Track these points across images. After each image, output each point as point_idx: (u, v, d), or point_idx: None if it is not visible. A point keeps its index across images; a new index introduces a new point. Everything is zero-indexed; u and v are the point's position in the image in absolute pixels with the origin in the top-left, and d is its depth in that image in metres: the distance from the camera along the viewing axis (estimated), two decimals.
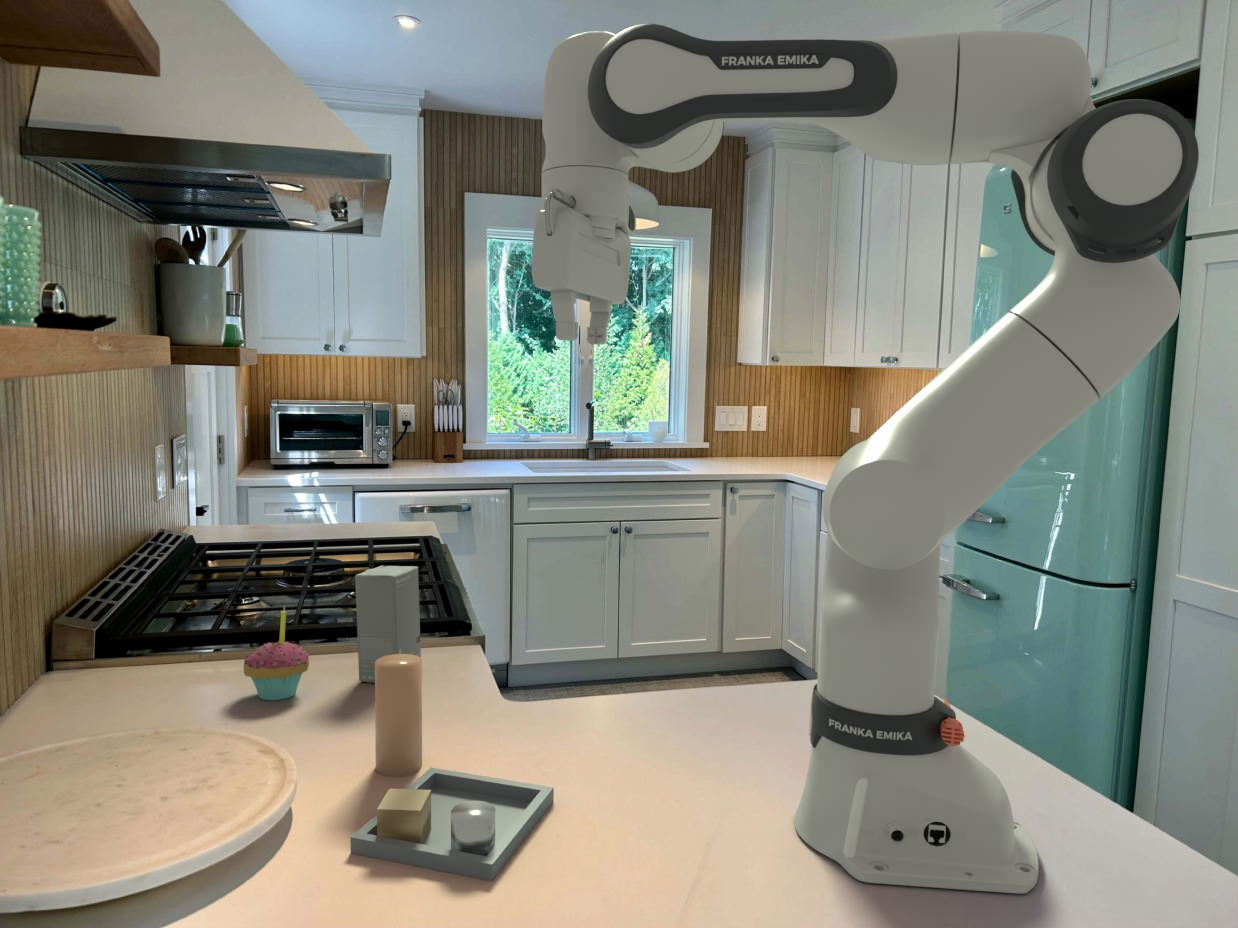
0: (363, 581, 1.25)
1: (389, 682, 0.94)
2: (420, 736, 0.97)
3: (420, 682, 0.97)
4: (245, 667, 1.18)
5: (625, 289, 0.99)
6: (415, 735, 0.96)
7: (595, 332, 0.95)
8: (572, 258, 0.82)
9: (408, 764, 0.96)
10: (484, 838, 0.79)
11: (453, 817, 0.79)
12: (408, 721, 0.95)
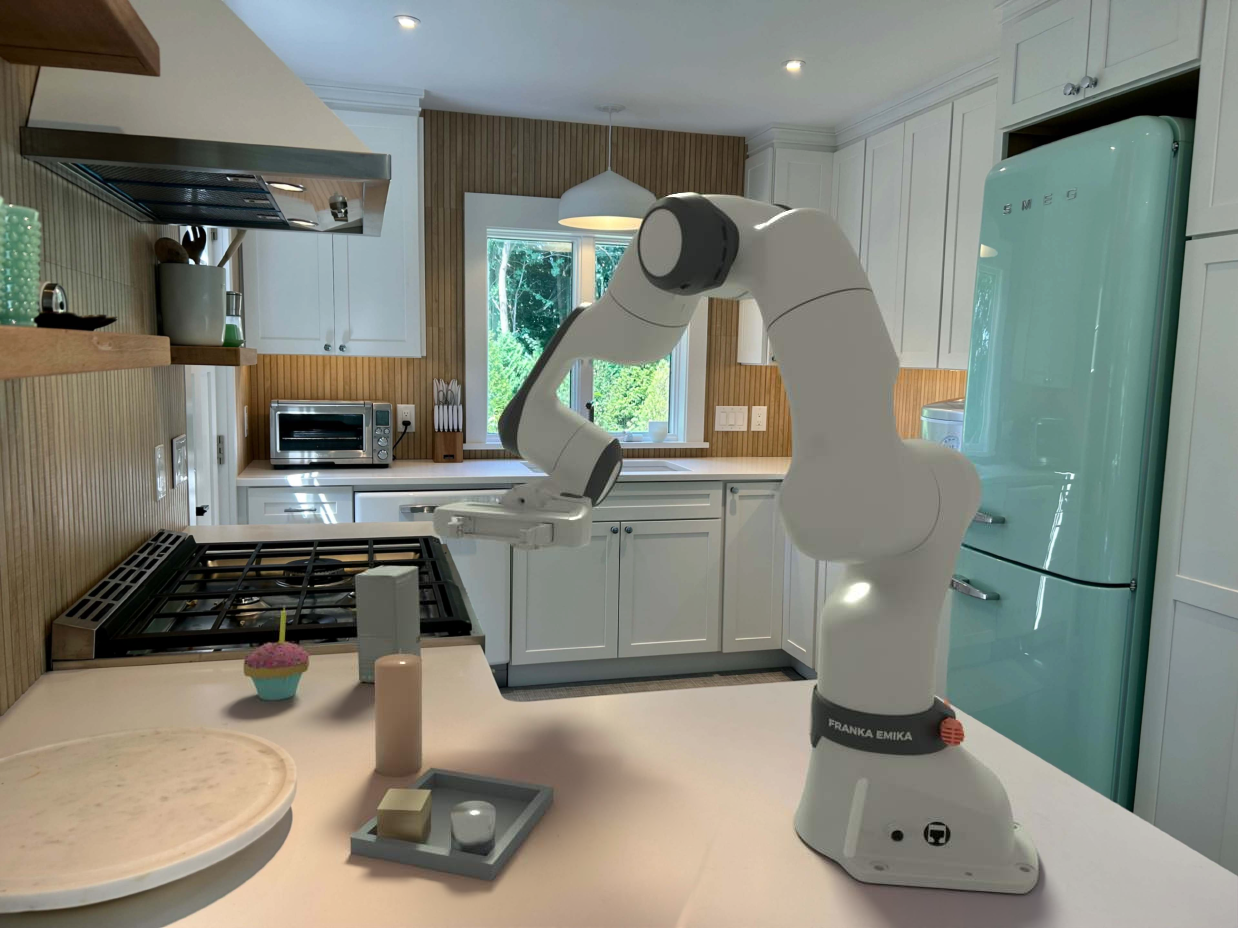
0: (363, 581, 1.25)
1: (389, 682, 0.94)
2: (420, 736, 0.97)
3: (420, 682, 0.97)
4: (245, 667, 1.18)
5: (575, 516, 1.09)
6: (415, 735, 0.96)
7: None
8: (451, 505, 1.15)
9: (408, 764, 0.96)
10: (484, 838, 0.79)
11: (453, 817, 0.79)
12: (408, 721, 0.95)
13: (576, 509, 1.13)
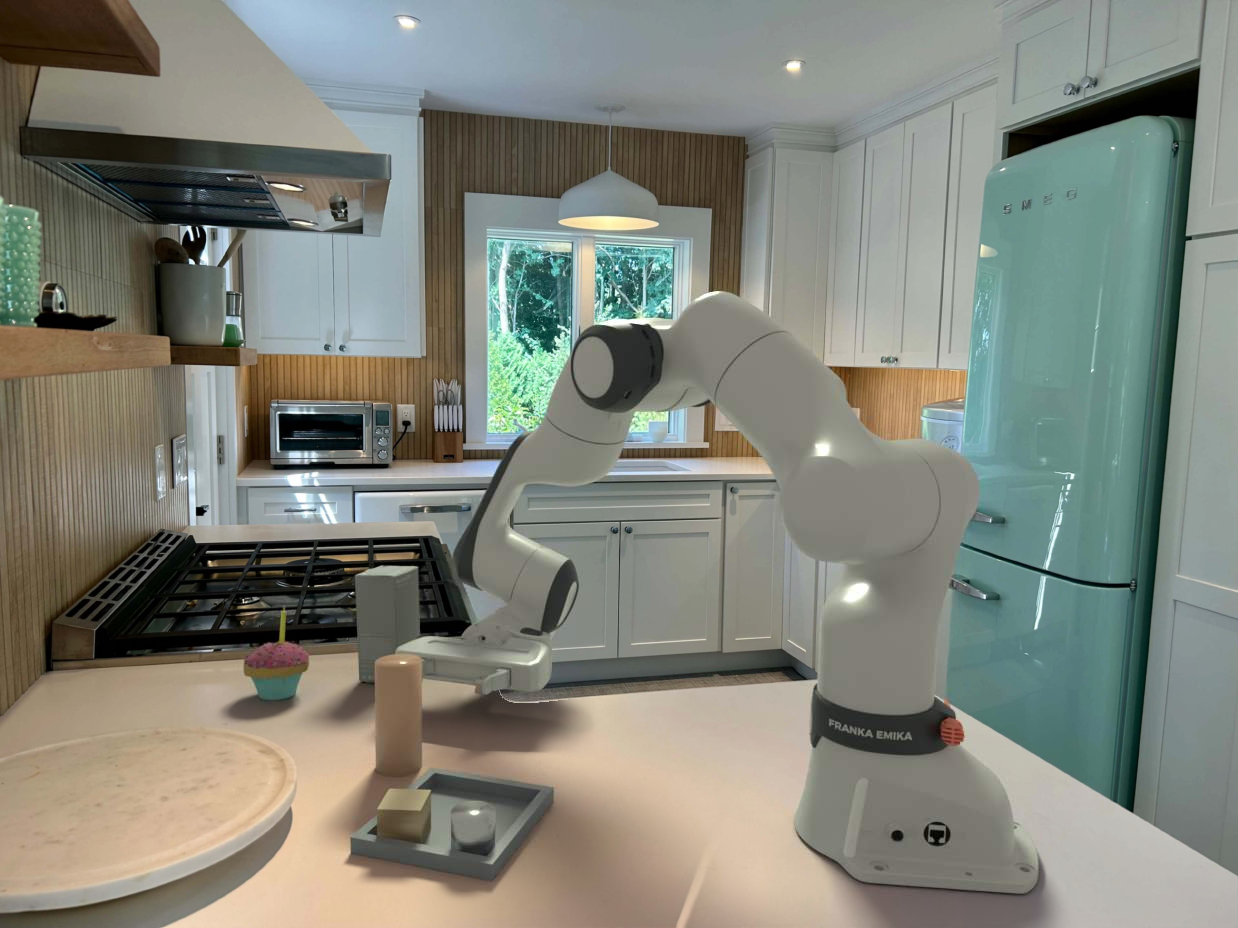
0: (363, 581, 1.25)
1: (389, 682, 0.94)
2: (420, 736, 0.97)
3: (420, 682, 0.97)
4: (245, 667, 1.18)
5: (533, 660, 1.11)
6: (415, 735, 0.96)
7: None
8: (413, 644, 1.17)
9: (408, 764, 0.96)
10: (484, 838, 0.79)
11: (453, 817, 0.79)
12: (408, 721, 0.95)
13: (535, 649, 1.15)
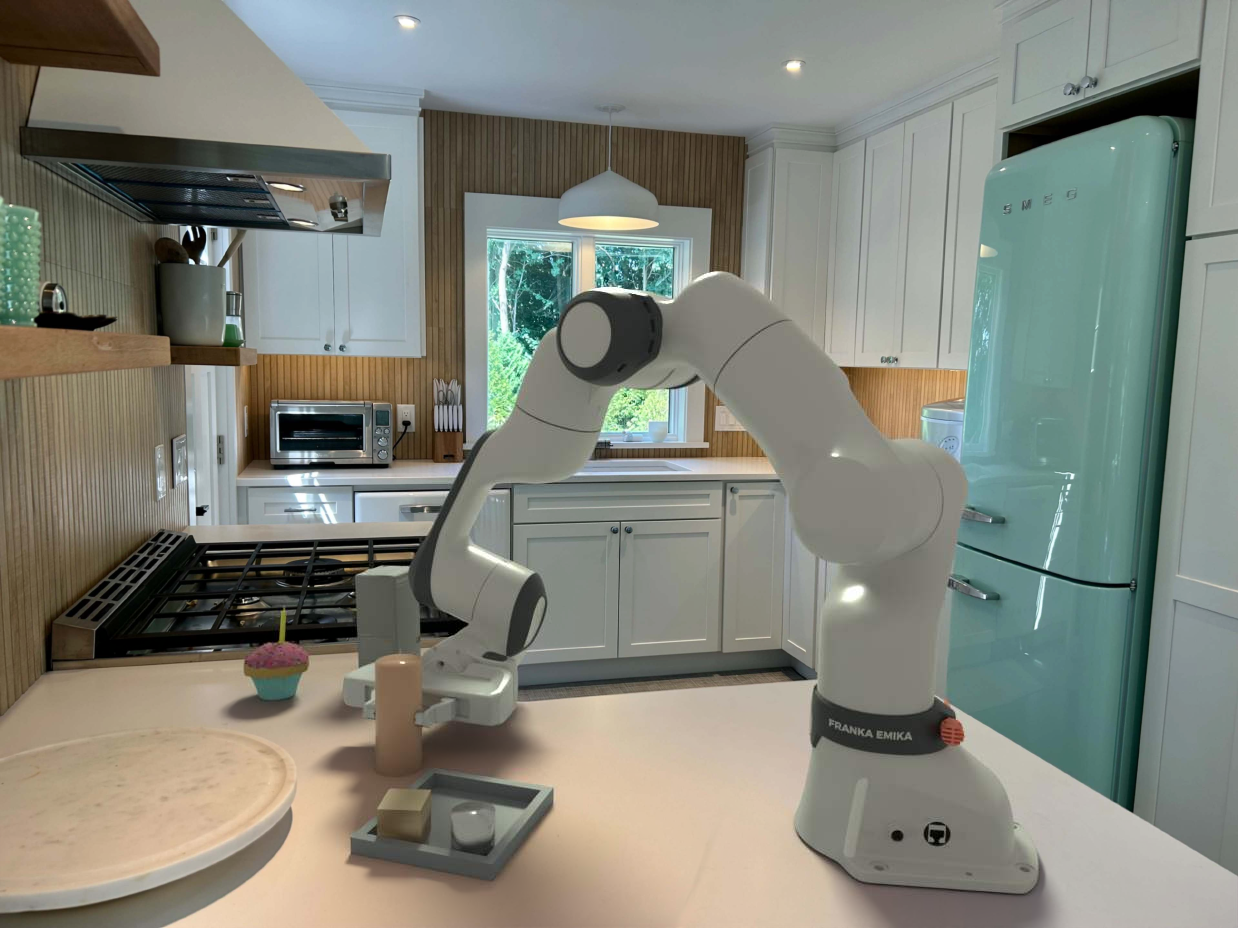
0: (363, 581, 1.25)
1: (389, 682, 0.94)
2: (420, 736, 0.97)
3: (420, 682, 0.97)
4: (245, 667, 1.18)
5: (494, 690, 1.00)
6: (415, 735, 0.96)
7: None
8: (363, 670, 1.06)
9: (408, 764, 0.96)
10: (484, 838, 0.79)
11: (453, 817, 0.79)
12: (408, 721, 0.95)
13: (498, 676, 1.04)
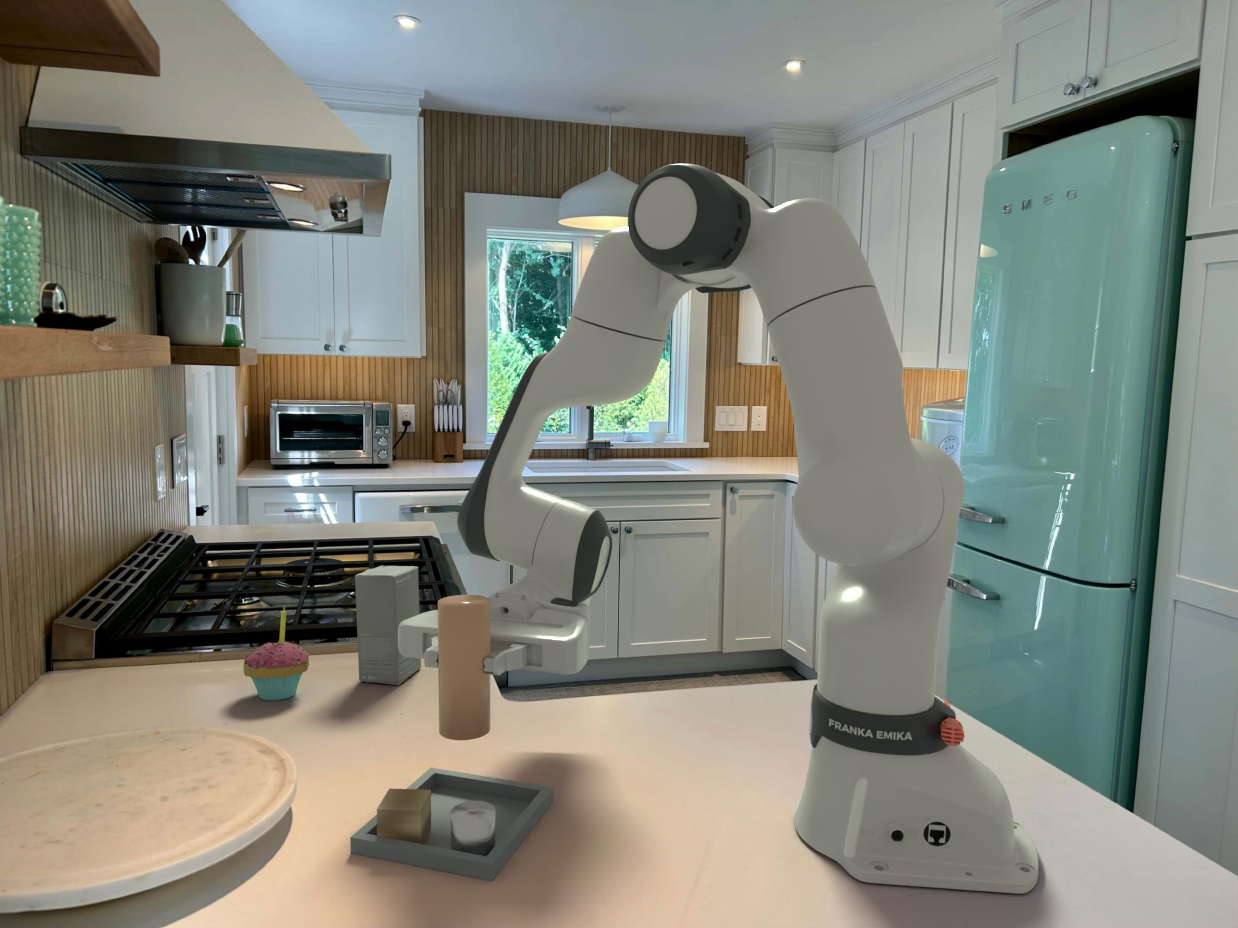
0: (363, 581, 1.25)
1: (455, 623, 0.84)
2: (489, 685, 0.86)
3: (488, 624, 0.86)
4: (245, 667, 1.18)
5: (569, 635, 0.89)
6: (484, 683, 0.86)
7: None
8: (419, 618, 0.95)
9: (476, 717, 0.85)
10: (484, 838, 0.79)
11: (453, 817, 0.79)
12: (476, 668, 0.85)
13: (570, 622, 0.93)
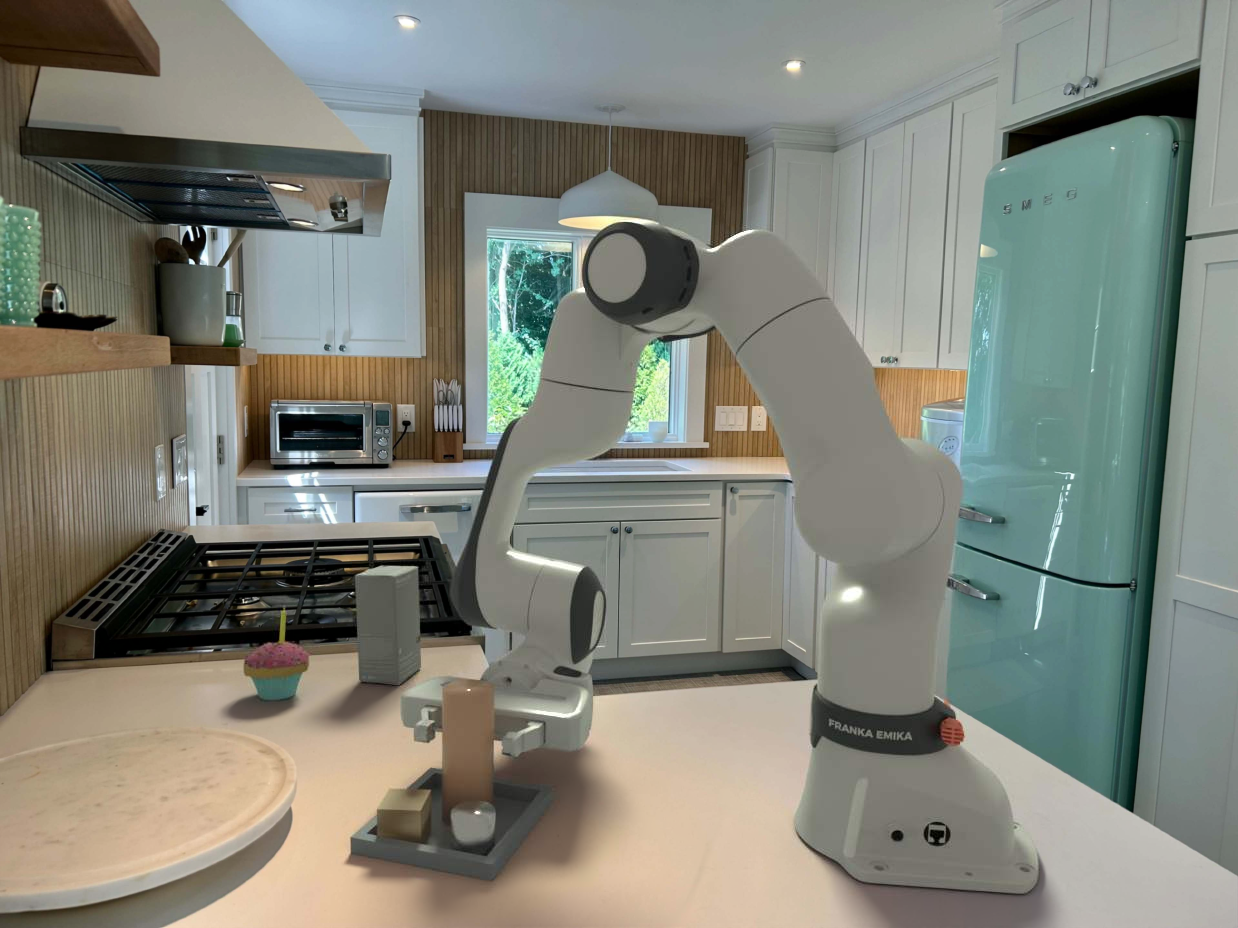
0: (363, 581, 1.25)
1: (459, 713, 0.84)
2: (492, 772, 0.87)
3: (493, 712, 0.86)
4: (245, 667, 1.18)
5: (572, 711, 0.89)
6: (488, 771, 0.86)
7: None
8: (422, 687, 0.95)
9: None
10: (484, 838, 0.79)
11: (453, 817, 0.79)
12: (480, 756, 0.85)
13: (573, 695, 0.93)
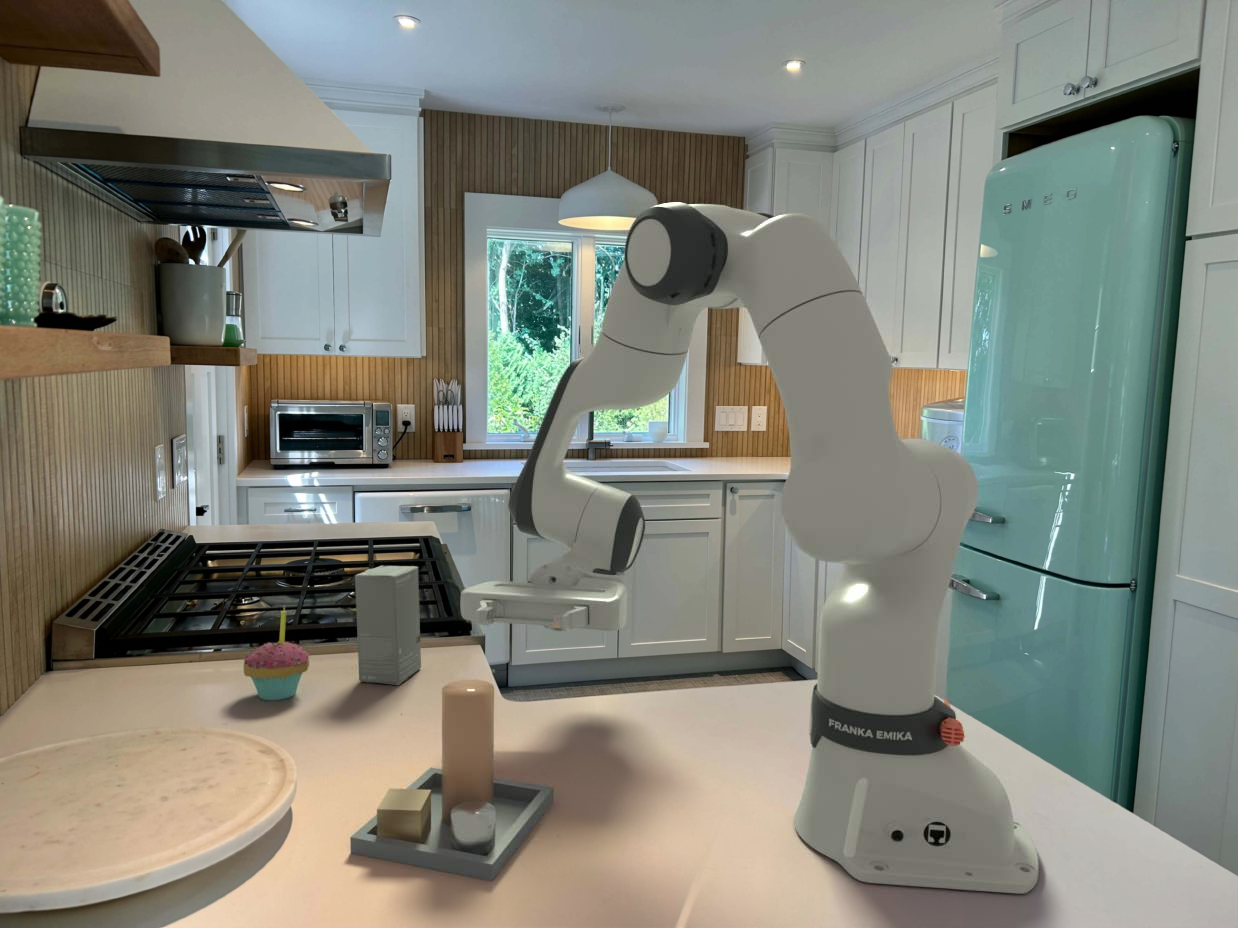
0: (363, 581, 1.25)
1: (459, 713, 0.84)
2: (492, 772, 0.87)
3: (492, 712, 0.86)
4: (245, 667, 1.18)
5: (612, 596, 1.02)
6: (488, 771, 0.86)
7: None
8: (478, 587, 1.09)
9: None
10: (484, 838, 0.79)
11: (453, 817, 0.79)
12: (480, 757, 0.85)
13: (611, 587, 1.06)
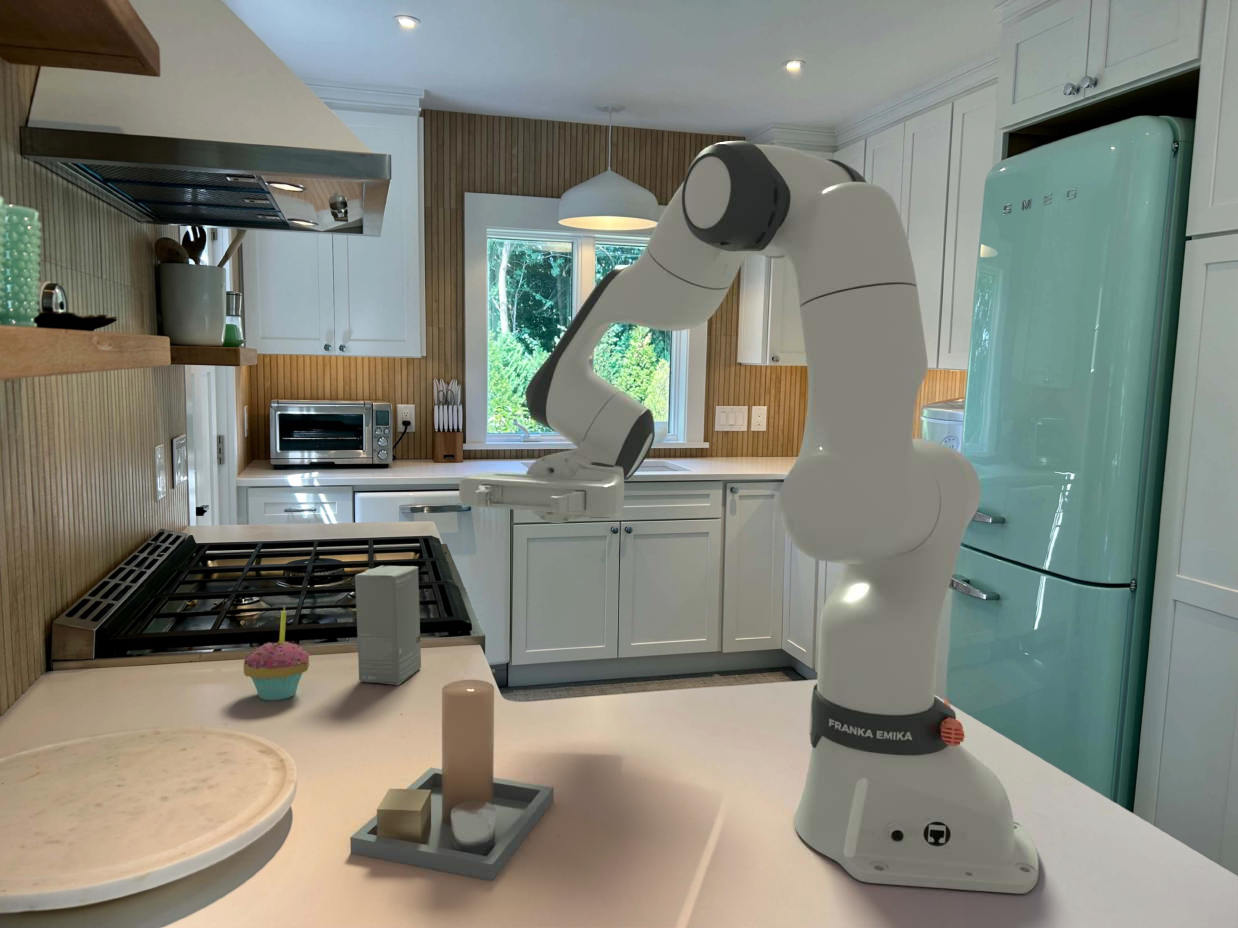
0: (363, 581, 1.25)
1: (459, 713, 0.84)
2: (492, 772, 0.87)
3: (492, 712, 0.86)
4: (245, 667, 1.18)
5: (609, 483, 1.04)
6: (488, 771, 0.86)
7: None
8: (477, 475, 1.10)
9: None
10: (484, 838, 0.79)
11: (453, 817, 0.79)
12: (480, 757, 0.85)
13: (608, 478, 1.08)
